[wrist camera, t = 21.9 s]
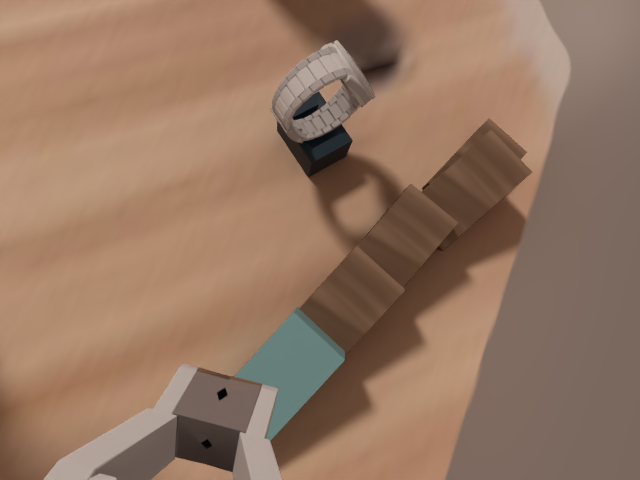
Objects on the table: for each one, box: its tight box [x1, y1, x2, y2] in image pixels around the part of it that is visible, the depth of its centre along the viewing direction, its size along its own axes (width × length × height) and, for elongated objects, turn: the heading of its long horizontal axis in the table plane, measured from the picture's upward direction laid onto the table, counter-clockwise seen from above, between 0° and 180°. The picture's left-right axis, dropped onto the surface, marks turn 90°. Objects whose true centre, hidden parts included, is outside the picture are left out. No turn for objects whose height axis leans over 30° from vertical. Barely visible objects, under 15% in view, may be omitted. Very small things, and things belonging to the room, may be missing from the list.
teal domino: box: [235, 308, 345, 441], centre depth 27 cm, size 2×5×10 cm
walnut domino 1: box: [299, 246, 405, 355], centre depth 29 cm, size 2×5×10 cm
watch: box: [271, 40, 375, 177], centre depth 29 cm, size 6×8×11 cm
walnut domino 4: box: [422, 130, 532, 251], centre depth 32 cm, size 2×5×10 cm
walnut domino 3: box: [422, 119, 527, 190], centre depth 36 cm, size 2×5×10 cm
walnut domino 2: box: [358, 184, 458, 287], centre depth 31 cm, size 2×5×10 cm
